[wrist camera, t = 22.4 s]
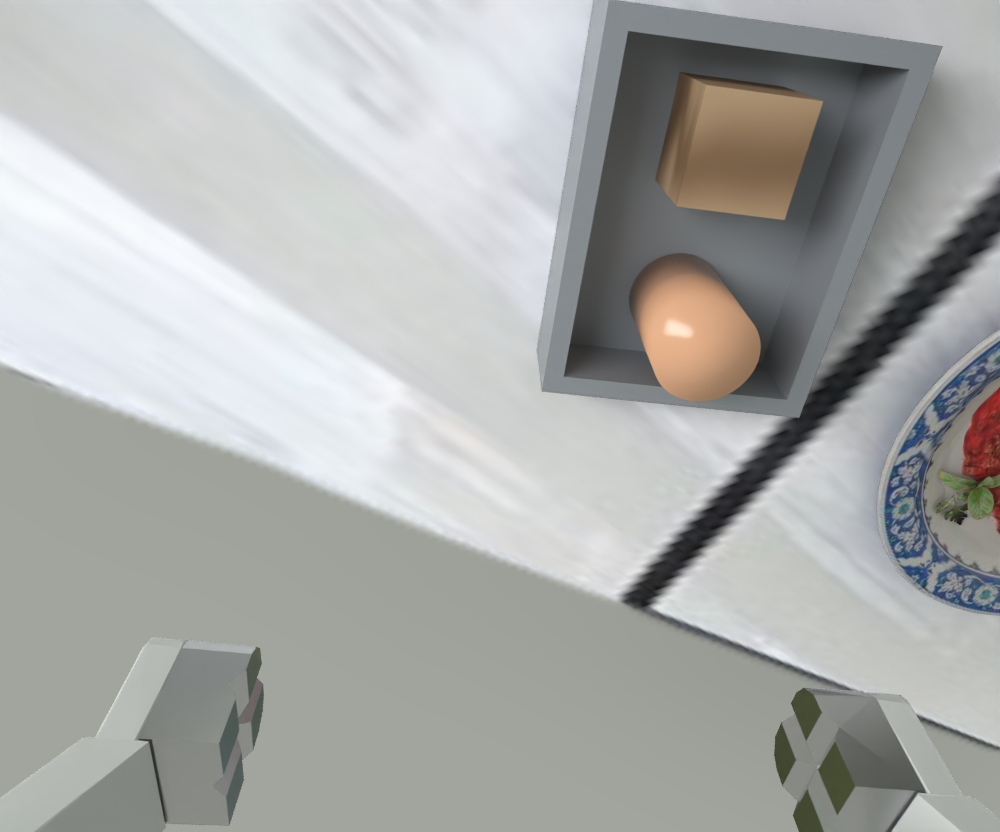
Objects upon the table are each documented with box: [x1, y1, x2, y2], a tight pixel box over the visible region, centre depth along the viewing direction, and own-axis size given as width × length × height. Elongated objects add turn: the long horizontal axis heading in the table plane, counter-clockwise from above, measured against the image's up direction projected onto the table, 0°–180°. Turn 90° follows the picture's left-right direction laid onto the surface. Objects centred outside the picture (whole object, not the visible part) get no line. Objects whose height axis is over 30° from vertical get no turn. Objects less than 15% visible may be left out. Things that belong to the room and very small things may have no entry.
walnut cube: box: [655, 72, 823, 220], centre depth 33 cm, size 5×5×5 cm
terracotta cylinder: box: [629, 253, 761, 402], centre depth 37 cm, size 5×5×7 cm
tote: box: [537, 0, 943, 418], centre depth 36 cm, size 18×14×5 cm
